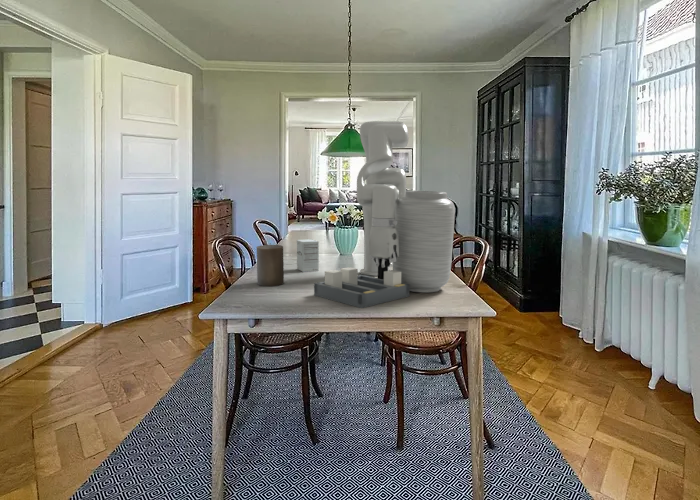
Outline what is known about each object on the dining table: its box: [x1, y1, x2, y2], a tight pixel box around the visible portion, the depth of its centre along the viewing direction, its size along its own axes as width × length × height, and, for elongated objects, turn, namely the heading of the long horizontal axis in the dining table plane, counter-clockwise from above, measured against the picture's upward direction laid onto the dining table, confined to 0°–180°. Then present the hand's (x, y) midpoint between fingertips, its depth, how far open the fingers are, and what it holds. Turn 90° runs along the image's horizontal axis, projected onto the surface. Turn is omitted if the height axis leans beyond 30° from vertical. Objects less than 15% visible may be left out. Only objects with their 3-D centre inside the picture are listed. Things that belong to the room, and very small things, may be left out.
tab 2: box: [384, 269, 401, 286], centre depth 158 cm, size 4×4×7 cm
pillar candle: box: [255, 242, 285, 287], centre depth 176 cm, size 10×10×15 cm
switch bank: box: [313, 274, 410, 309], centre depth 159 cm, size 22×22×4 cm
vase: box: [392, 190, 456, 294], centre depth 168 cm, size 20×20×34 cm
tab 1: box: [324, 269, 342, 288], centre depth 158 cm, size 4×4×7 cm
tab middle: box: [340, 267, 359, 285], centre depth 163 cm, size 4×4×7 cm
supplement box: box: [296, 238, 320, 273], centre depth 203 cm, size 7×7×13 cm
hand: (382, 278), depth 161 cm, fingers closed
